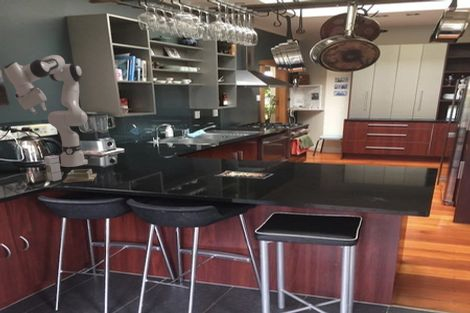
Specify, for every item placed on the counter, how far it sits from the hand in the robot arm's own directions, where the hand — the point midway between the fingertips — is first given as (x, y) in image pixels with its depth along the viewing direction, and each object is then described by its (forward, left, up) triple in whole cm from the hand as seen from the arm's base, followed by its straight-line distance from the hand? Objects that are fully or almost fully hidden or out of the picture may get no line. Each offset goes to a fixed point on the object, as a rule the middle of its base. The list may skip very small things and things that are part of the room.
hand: (40, 112), depth 194 cm
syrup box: (+5, +4, -40) cm, 41 cm away
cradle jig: (+7, +19, -40) cm, 45 cm away
